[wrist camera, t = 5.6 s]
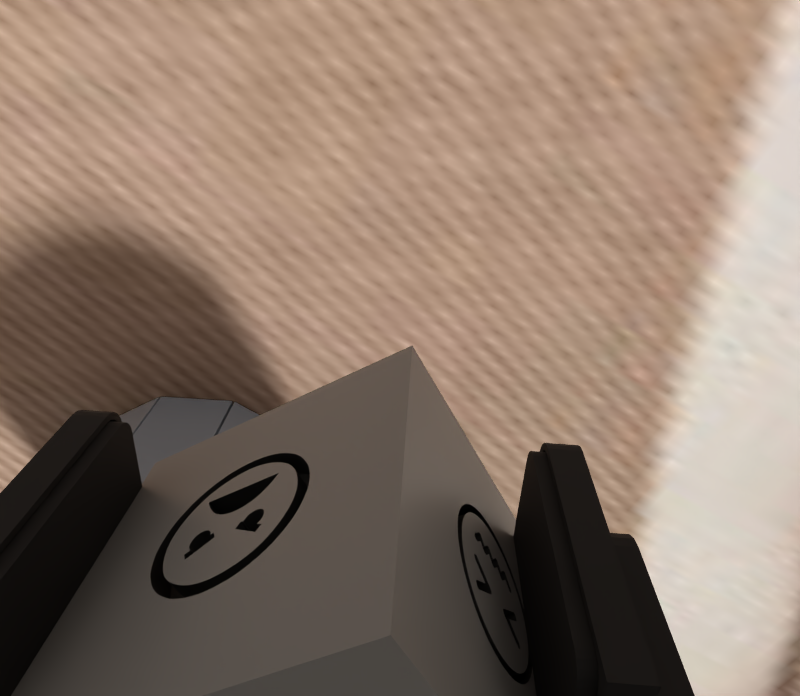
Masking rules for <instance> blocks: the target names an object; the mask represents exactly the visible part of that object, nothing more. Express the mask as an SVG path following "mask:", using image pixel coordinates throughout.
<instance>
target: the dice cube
mask: <svg viewBox="0 0 800 696" xmlns="http://www.w3.org/2000/svg"><path fill="white" fill-rule="evenodd" d="M515 524H516V519H515V517H514V516H513V514H512V512H511V511H510V509H509V507H508V506H507V504H506V502H505V501H504V499H503V497H502V496H501V494H500V492H499V491H498V489H497V487H496V485H495V484H494V482H493V480H492V479H491V477H490V475H489V474H488V472H487V470H486V469H485V467H484V465H483V464H482V462H481V460H480V459H479V457H478V455H477V454H476V452H475V450H474V448H473V447H472V445H471V443H470V442H469V440H468V438H467V437H466V435H465V433H464V432H463V430H462V428H461V427H460V425H459V423H458V422H457V420H456V418H455V417H454V415H453V413H452V412H451V410H450V408H449V406H448V405H447V403H446V401H445V400H444V398H443V396H442V395H441V393H440V391H439V390H438V388H437V386H436V385H435V383H434V381H433V380H432V378H431V376H430V375H429V373H428V371H427V370H426V368H425V366H424V364H423V363H422V361H421V359H420V358H419V356H418V354H417V353H416V351H415V349H414V348H413V346H410V347H408V348H406V349H404V350H402V351H399V352H397V353H395V354H393V355H391V356H389V357H386V358H384V359H382V360H380V361H378V362H375V363H373V364H371V365H369V366H367V367H364V368H362V369H360V370H358V371H356V372H353V373H351V374H349V375H347V376H345V377H342V378H340V379H338V380H336V381H334V382H332V383H329V384H327V385H325V386H323V387H321V388H318V389H316V390H314V391H312V392H310V393H307V394H305V395H303V396H301V397H299V398H296V399H294V400H292V401H290V402H288V403H286V404H283V405H281V406H279V407H277V408H275V409H272V410H270V411H268V412H266V413H264V414H261V415H259V416H257V417H255V418H253V419H250V420H248V421H246V422H244V423H242V424H239V425H237V426H235V427H233V428H231V429H229V430H226V431H224V432H222V433H220V434H218V435H215V436H213V437H211V438H209V439H207V440H204V441H202V442H200V443H198V444H196V445H193V446H191V447H189V448H187V449H185V450H183V451H180V452H178V453H176V454H174V455H172V456H169V457H167V458H165V459H163V460H161V461H158V462H156V463H155V464H154V466H153V467H152V469H151V471H150V472H149V474H148V475H147V477H146V478H145V480H144V482H143V483H142V488H141V490H140V491H139V493H138V494H137V496H136V498H135V499H134V501H133V502H132V504H131V506H130V507H129V509H128V510H127V512H126V514H125V515H124V517H123V518H122V520H121V522H120V523H119V525H118V526H117V528H116V529H115V531H114V533H113V534H112V536H111V537H110V539H109V541H108V542H107V544H106V545H105V547H104V549H103V550H102V552H101V553H100V555H99V556H98V558H97V560H96V561H95V563H94V564H93V566H92V568H91V569H90V571H89V572H88V574H87V576H86V577H85V579H84V580H83V582H82V584H81V585H80V587H79V588H78V590H77V591H76V593H75V595H74V596H73V598H72V599H71V601H70V603H69V604H68V606H67V607H66V609H65V611H64V612H63V614H62V615H61V617H60V619H59V620H58V622H57V623H56V625H55V626H54V628H53V630H52V631H51V633H50V634H49V636H48V638H47V639H46V641H45V642H44V644H43V646H42V647H41V649H40V650H39V652H38V653H37V655H36V657H35V658H34V660H33V661H32V663H31V665H30V666H29V668H28V669H27V671H26V673H25V674H24V676H23V677H22V679H21V681H20V682H19V684H18V685H17V687H16V688H15V690H14V692H13V693H12V695H11V696H537V695H536V688H535V681H534V674H533V668H532V663H531V660H530V656H529V651H528V640H527V633H526V627H525V614H524V606H523V599H522V592H521V585H520V579H519V572H518V565H517V558H516V551H515V544H514V537H513V535H514V530H515Z"/></svg>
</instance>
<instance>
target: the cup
mask: <svg viewBox="0 0 800 696" xmlns="http://www.w3.org/2000/svg"><path fill="white" fill-rule="evenodd" d="M257 416H259V415H258V414H256V413H255V412H253V411H251V410H249V409H247V408H245V407H243V406H242V405H240V404H238V403H236V402H234V403H233V405H232V401H223V400H207V399H191V398H175V397H161V398H160V397H158V398H156V399H154V400H152V401H150V402H147V403H145V404H143V405H141V406H139V407H137V408H135V409H133V410H130V411H128V412H126V413H124V414H122V415H120V418H121V421H122V422H126V423H129V425H130V426H131V429H132V433H133V439H134V444H135V449H136V455H137V460H138V466H139V471H140V476H141V482H142V483H143V482H144V480H145V478H146V477H147V475H148V474H149V472H150V471H151V469H152V467H153V466H154V464H155V463H156V462H158V461H161V460H163V459H165V458H167V457H169V456H172V455H174V454H176V453H178V452H180V451H183V450H185V449H187V448H189V447H191V446H193V445H196V444H198V443H200V442H202V441H204V440H207V439H209V438H211V437H213V436H215V435H218V434H220V433H222V432H224V431H226V430H229V429H231V428H233V427H235V426H237V425H239V424H242V423H244V422H246V421H248V420H250V419H253V418H255V417H257Z"/></svg>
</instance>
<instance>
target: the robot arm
mask: <svg viewBox="0 0 800 696" xmlns="http://www.w3.org/2000/svg"><path fill="white" fill-rule="evenodd" d="M141 488H142V482H141V476H140V471H139V466H138V460H137V455H136V449H135V444H134V439H133V433H132V429H131V426H130V425H129V423H126V422H122V421H121V418H120V416H119V415H118V414H117V413H114V412H100V411H86V410H80V411H77V412H75V413H74V414H73V415H72V416H71V417H70V418H69V419H68V420H67V421H66V422H65V424H64V425H63V426H62V427H61V428H60V429H59V430H58V431H57V432H56V433H55V434H54V436H53V437H52V438H51V439H50V440H49V441H48V442H47V443H46V444H45V445H44V446H43V447H42V449H41V450H40V451H39V452H38V453H37V454H36V455H35V456H34V457H33V458H32V459H31V461H30V462H29V463H28V464H27V465H26V466H25V467H24V468H23V469H22V470H21V471H20V472H19V474H18V475H17V476H16V477H15V478H14V479H13V480H12V481H11V482H10V483H9V484H8V486H7V487H6V488H5V489H4V490H3V491H2V492H1V493H0V696H11V695H12V693H13V692H14V690H15V688H16V687H17V685H18V684H19V682H20V681H21V679H22V677H23V676H24V674H25V673H26V671H27V669H28V668H29V666H30V665H31V663H32V661H33V660H34V658H35V657H36V655H37V653H38V652H39V650H40V649H41V647H42V646H43V644H44V642H45V641H46V639H47V638H48V636H49V634H50V633H51V631H52V630H53V628H54V626H55V625H56V623H57V622H58V620H59V619H60V617H61V615H62V614H63V612H64V611H65V609H66V607H67V606H68V604H69V603H70V601H71V599H72V598H73V596H74V595H75V593H76V591H77V590H78V588H79V587H80V585H81V584H82V582H83V580H84V579H85V577H86V576H87V574H88V572H89V571H90V569H91V568H92V566H93V564H94V563H95V561H96V560H97V558H98V556H99V555H100V553H101V552H102V550H103V549H104V547H105V545H106V544H107V542H108V541H109V539H110V537H111V536H112V534H113V533H114V531H115V529H116V528H117V526H118V525H119V523H120V522H121V520H122V518H123V517H124V515H125V514H126V512H127V510H128V509H129V507H130V506H131V504H132V502H133V501H134V499H135V498H136V496H137V494H138V493H139V491H140V490H141ZM513 537H514V544H515V551H516V558H517V565H518V572H519V579H520V585H521V592H522V599H523V606H524V614H525V627H526V633H527V640H528V651H529V656H530V660H531V663H532V668H533V674H534V681H535V688H536V695H537V696H694V693H693V690H692V688H691V685H690V682H689V680H688V677H687V675H686V672H685V669H684V667H683V664H682V661H681V659H680V656H679V653H678V651H677V648H676V645H675V643H674V640H673V638H672V635H671V632H670V630H669V627H668V624H667V622H666V619H665V616H664V614H663V611H662V608H661V606H660V603H659V601H658V598H657V595H656V593H655V590H654V587H653V585H652V582H651V579H650V577H649V574H648V571H647V569H646V566H645V563H644V561H643V558H642V556H641V553H640V550H639V548H638V545H637V544H636V542H635V540H634V538H633V537H632V536H631V535H630V534H617V533H610V532H609V529H608V526H607V523H606V520H605V517H604V514H603V511H602V508H601V505H600V502H599V499H598V496H597V493H596V490H595V487H594V484H593V481H592V478H591V475H590V472H589V469H588V466H587V463H586V460H585V457H584V454H583V451H582V449H581V447H580V446H578V445H566V444H552V443H544V444H542V447H541V450H540V452H535V451H530V452H529V454H528V458H527V463H526V468H525V474H524V480H523V485H522V491H521V496H520V502H519V507H518V513H517V518H516V524H515V530H514V535H513Z"/></svg>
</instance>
